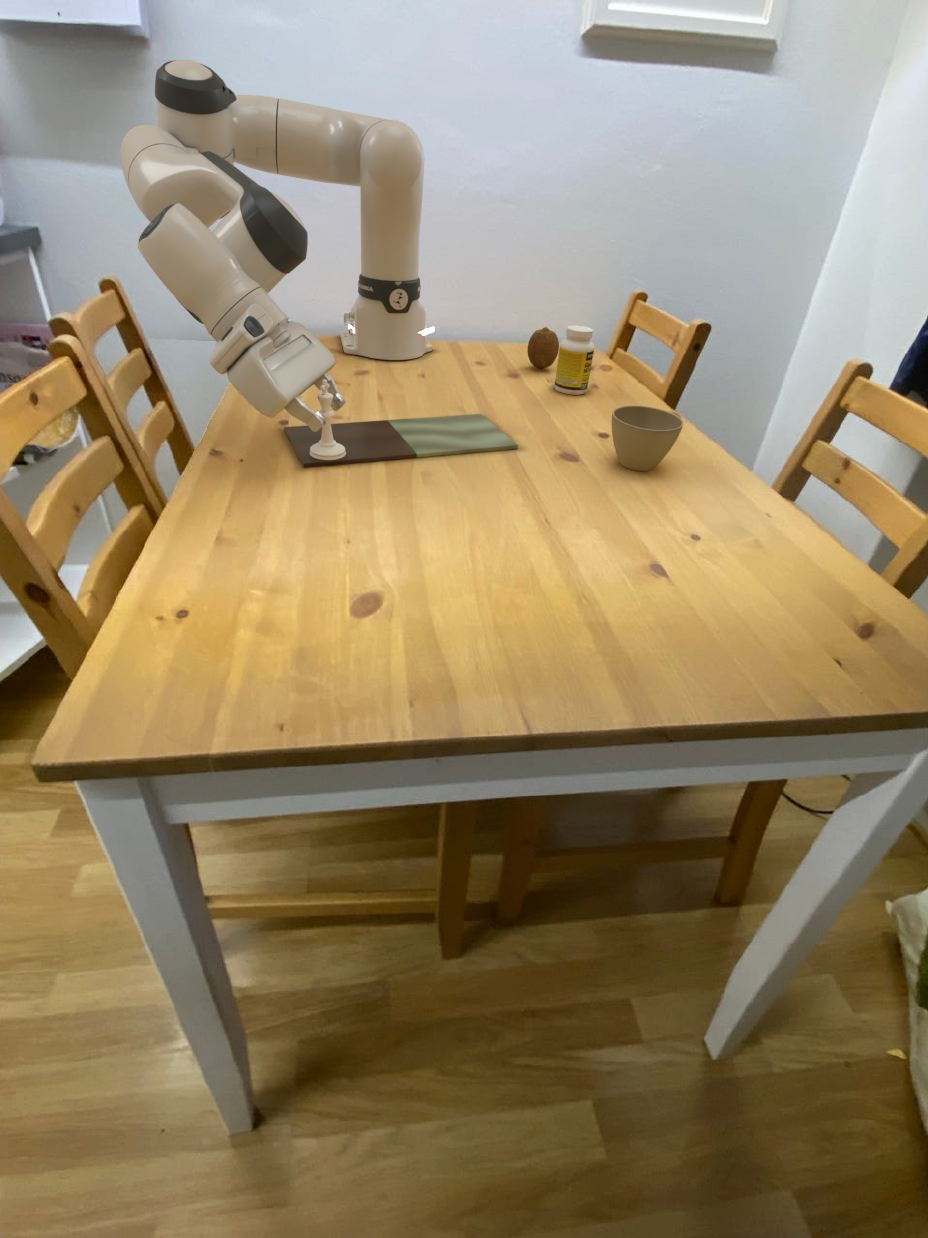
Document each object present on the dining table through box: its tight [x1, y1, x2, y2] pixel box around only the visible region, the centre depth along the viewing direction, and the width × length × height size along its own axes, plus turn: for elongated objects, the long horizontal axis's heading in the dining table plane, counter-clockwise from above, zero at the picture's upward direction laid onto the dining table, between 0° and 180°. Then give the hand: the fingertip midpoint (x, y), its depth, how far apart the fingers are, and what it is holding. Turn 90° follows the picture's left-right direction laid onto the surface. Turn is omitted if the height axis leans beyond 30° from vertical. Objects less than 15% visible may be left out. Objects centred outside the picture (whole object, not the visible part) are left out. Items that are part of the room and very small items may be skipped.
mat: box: [283, 413, 519, 468], centre depth 104 cm, size 14×32×1 cm, turn 112°
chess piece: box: [310, 379, 346, 460], centre depth 93 cm, size 5×5×10 cm
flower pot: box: [611, 404, 684, 472], centre depth 100 cm, size 10×10×7 cm
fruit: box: [527, 326, 560, 370], centre depth 139 cm, size 6×6×8 cm
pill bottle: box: [553, 325, 595, 396], centre depth 127 cm, size 6×6×11 cm
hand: (331, 416), depth 93 cm, fingers open, 7 cm apart
